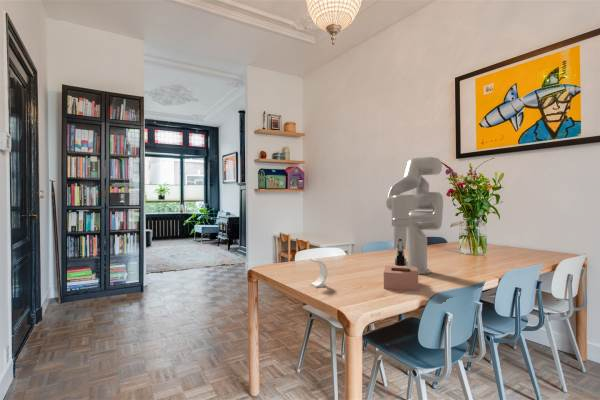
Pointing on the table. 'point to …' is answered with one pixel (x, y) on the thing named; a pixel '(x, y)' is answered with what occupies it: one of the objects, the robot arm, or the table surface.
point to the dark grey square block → (400, 265)
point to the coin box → (401, 278)
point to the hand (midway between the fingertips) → (400, 263)
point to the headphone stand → (322, 276)
